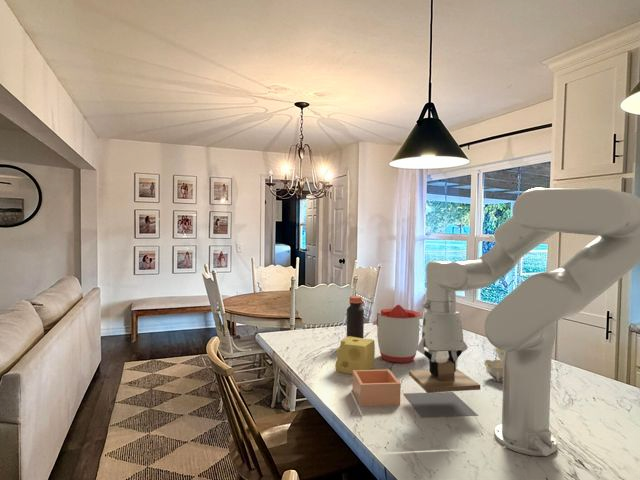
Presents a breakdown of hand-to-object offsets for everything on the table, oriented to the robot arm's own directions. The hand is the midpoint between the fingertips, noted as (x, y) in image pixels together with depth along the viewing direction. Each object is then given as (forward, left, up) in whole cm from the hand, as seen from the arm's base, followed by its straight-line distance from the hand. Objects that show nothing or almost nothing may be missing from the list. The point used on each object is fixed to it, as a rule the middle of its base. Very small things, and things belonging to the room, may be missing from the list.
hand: (442, 374), depth 109 cm
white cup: (+24, -11, -9) cm, 28 cm away
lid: (0, 0, -2) cm, 2 cm away
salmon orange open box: (+7, +17, -9) cm, 20 cm away
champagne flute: (+47, -15, -9) cm, 50 cm away
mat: (+1, +1, -9) cm, 9 cm away
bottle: (+57, +13, -9) cm, 59 cm away
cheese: (+30, +18, -9) cm, 36 cm away
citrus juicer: (+41, +1, -9) cm, 42 cm away
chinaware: (+22, -34, -9) cm, 42 cm away
